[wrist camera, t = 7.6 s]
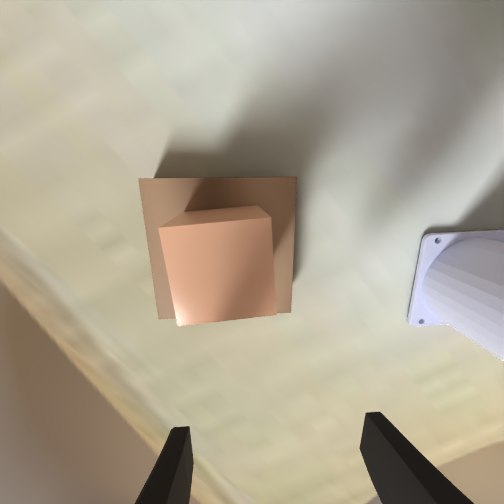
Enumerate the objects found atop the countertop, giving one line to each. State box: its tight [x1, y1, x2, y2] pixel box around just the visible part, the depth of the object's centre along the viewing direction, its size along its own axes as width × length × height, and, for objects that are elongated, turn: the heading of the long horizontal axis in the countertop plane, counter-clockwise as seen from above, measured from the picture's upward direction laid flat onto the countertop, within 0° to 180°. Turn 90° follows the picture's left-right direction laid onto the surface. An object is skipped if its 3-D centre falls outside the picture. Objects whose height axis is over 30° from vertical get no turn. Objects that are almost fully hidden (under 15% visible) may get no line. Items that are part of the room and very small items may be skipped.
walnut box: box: [138, 177, 297, 319], centre depth 16 cm, size 9×9×3 cm
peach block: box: [158, 205, 277, 326], centre depth 12 cm, size 4×4×5 cm
